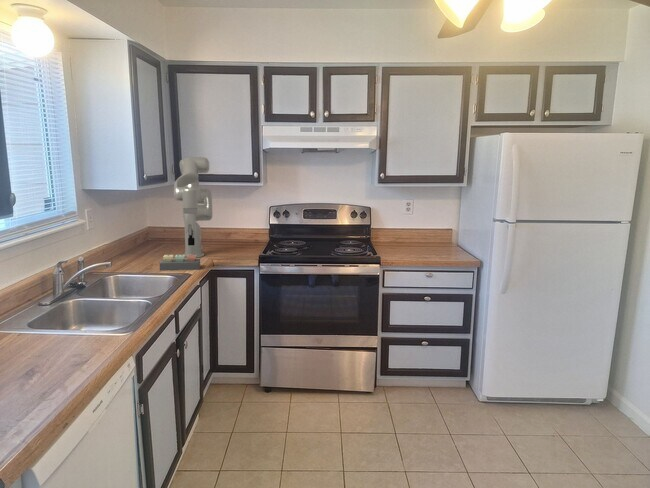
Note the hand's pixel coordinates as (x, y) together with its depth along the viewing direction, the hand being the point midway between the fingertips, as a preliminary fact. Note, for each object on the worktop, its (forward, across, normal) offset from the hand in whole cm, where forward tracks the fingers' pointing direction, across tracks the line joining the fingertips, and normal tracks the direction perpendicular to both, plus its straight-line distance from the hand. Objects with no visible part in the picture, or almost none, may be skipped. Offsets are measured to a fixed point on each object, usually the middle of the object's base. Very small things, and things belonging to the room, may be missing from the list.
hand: (191, 245), depth 229 cm
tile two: (+11, -1, -6) cm, 12 cm away
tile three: (+11, -1, 0) cm, 11 cm away
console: (+13, -1, -6) cm, 14 cm away
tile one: (+11, -1, -12) cm, 16 cm away
